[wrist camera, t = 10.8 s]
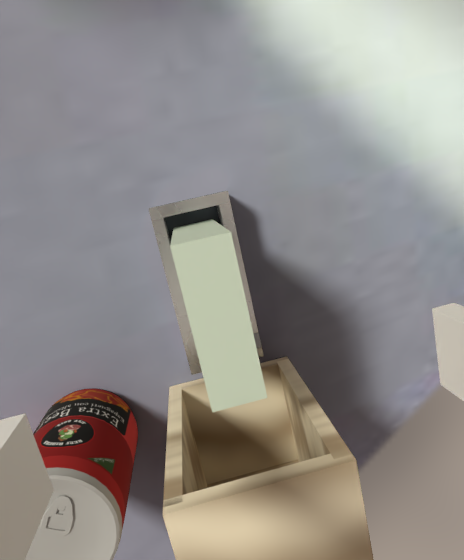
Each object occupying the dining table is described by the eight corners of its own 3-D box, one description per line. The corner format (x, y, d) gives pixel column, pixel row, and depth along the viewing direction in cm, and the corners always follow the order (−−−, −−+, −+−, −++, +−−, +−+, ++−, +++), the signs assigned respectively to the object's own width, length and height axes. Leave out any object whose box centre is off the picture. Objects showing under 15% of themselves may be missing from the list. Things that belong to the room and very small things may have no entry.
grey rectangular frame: (151, 207, 31) (148, 208, 28) (223, 191, 31) (227, 190, 29) (190, 361, 34) (191, 374, 31) (257, 344, 34) (263, 356, 32)
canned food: (139, 384, 34) (120, 472, 23) (139, 472, 35) (121, 593, 24) (40, 385, 33) (-29, 477, 22) (44, 475, 34) (-18, 603, 23)
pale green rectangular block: (173, 227, 31) (170, 246, 20) (222, 216, 32) (247, 228, 20) (200, 336, 33) (212, 412, 22) (246, 325, 34) (281, 393, 22)
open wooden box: (169, 386, 34) (162, 514, 20) (286, 356, 35) (356, 460, 21) (197, 489, 36) (208, 667, 22) (307, 458, 37) (382, 613, 23)
